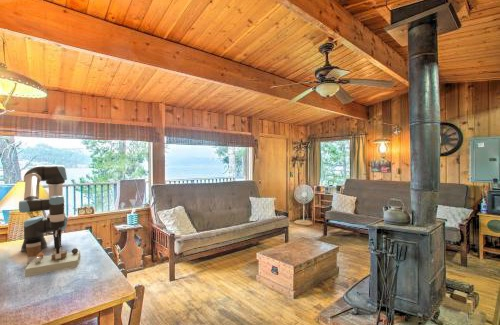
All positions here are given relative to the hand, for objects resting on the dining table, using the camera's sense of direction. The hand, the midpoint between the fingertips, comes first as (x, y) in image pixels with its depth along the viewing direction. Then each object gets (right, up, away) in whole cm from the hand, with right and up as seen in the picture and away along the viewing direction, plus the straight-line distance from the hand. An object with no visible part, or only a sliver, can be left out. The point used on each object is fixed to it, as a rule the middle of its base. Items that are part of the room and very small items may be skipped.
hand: (58, 258), depth 163 cm
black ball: (+4, +1, +10) cm, 11 cm away
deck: (-3, -5, +1) cm, 6 cm away
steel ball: (-9, +1, -5) cm, 10 cm away
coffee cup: (-24, -6, +10) cm, 26 cm away
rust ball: (-14, +1, +3) cm, 14 cm away
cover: (-2, -1, +4) cm, 4 cm away
